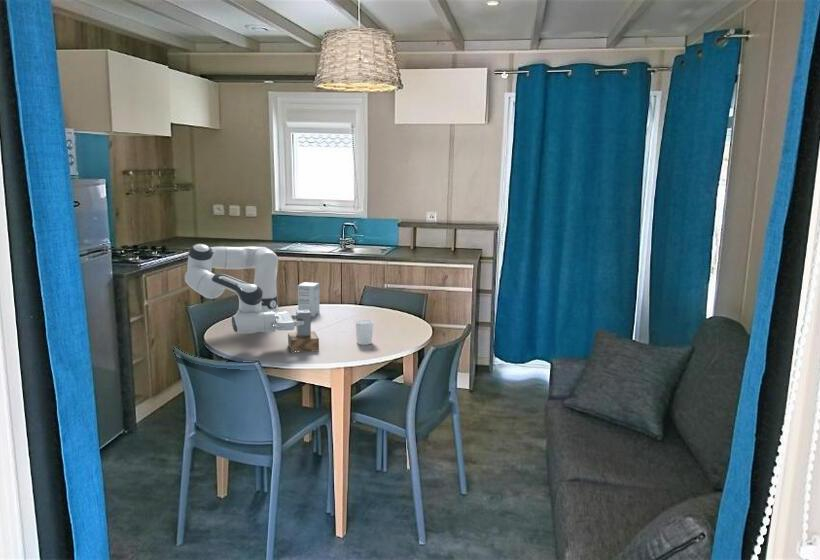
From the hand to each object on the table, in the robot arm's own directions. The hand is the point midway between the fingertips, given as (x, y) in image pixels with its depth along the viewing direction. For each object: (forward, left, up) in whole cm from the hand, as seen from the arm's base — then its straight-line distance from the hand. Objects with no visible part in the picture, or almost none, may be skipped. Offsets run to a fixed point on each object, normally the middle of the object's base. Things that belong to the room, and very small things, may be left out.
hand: (302, 319), depth 284 cm
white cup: (+16, +24, -13) cm, 31 cm away
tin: (0, 0, -7) cm, 7 cm away
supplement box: (-45, +47, -13) cm, 66 cm away
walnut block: (0, 0, -13) cm, 13 cm away
